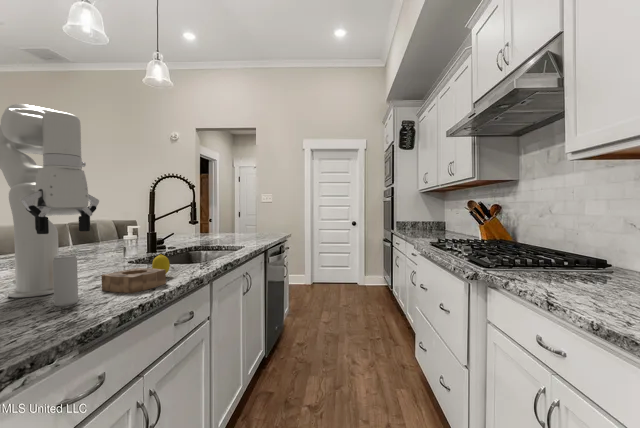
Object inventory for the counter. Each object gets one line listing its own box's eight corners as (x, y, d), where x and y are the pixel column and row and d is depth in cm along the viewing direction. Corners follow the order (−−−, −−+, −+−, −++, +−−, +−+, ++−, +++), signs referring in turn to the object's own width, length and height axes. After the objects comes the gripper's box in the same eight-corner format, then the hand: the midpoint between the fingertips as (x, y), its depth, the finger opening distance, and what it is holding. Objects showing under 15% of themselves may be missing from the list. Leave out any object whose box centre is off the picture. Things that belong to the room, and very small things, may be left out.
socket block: (98, 290, 95) (98, 275, 95) (137, 281, 107) (137, 267, 107) (132, 293, 91) (132, 277, 90) (168, 283, 103) (168, 269, 103)
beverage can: (64, 307, 78) (63, 257, 78) (48, 306, 79) (47, 257, 79) (83, 301, 83) (81, 255, 83) (67, 301, 84) (66, 254, 84)
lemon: (173, 275, 115) (172, 253, 115) (162, 279, 110) (162, 255, 110) (160, 275, 117) (159, 253, 117) (148, 278, 111) (148, 255, 111)
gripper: (87, 168, 90) (88, 230, 90) (10, 159, 74) (12, 235, 74) (106, 167, 88) (108, 230, 88) (32, 157, 71) (34, 235, 72)
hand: (64, 232), depth 81 cm, fingers open, 9 cm apart
